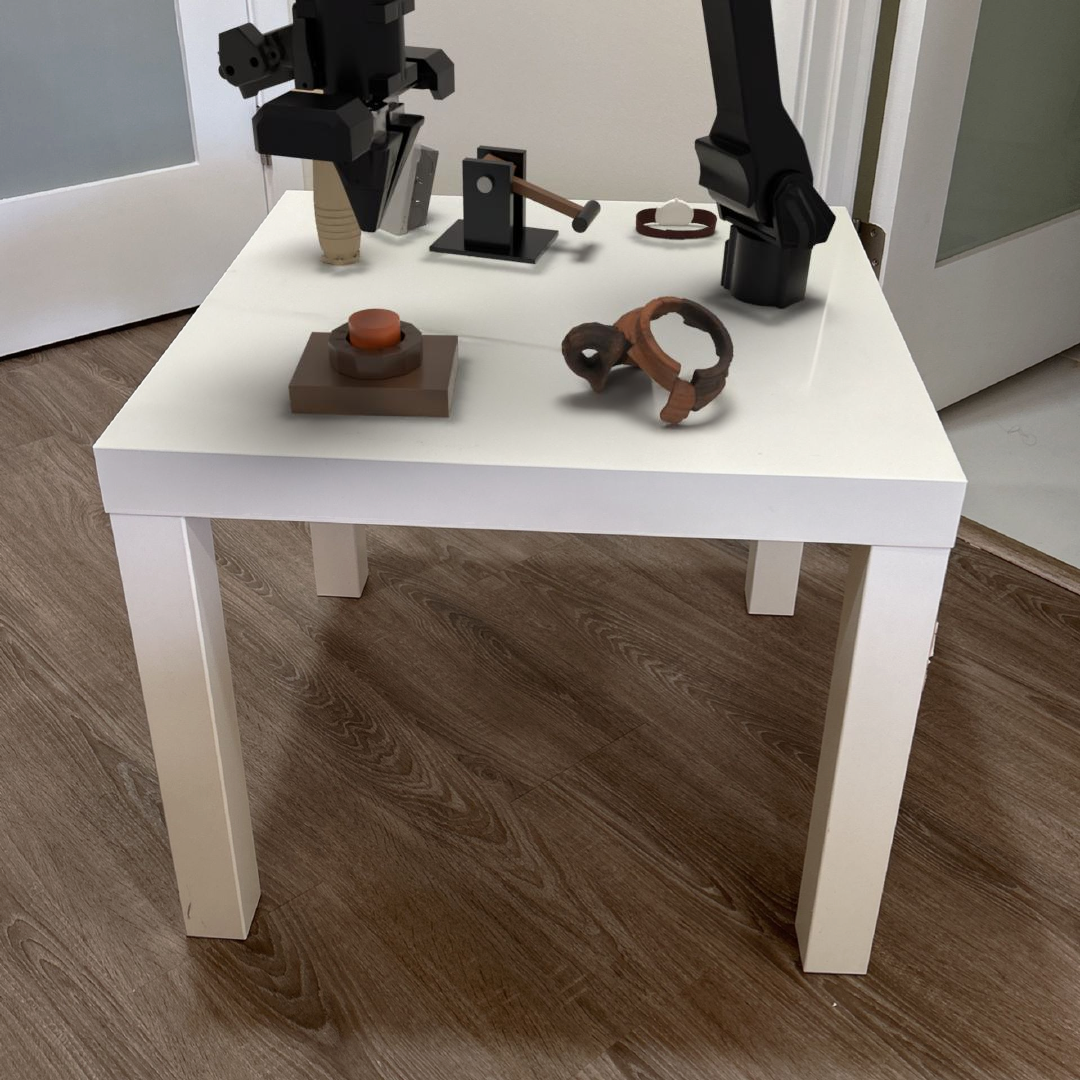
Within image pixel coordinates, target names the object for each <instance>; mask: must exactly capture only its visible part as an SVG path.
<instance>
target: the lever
mask: <svg viewBox="0 0 1080 1080" xmlns="http://www.w3.org/2000/svg"><path fill="white" fill-rule="evenodd" d="M483 159H486V160H496V161H504V160H502V159H499V158H497V157H495V156H493V155H491V154H488V155H486V156H485V157H484V158H483ZM505 162H506V161H505ZM515 169H516V166H515V165H513V192H515V193H517V194H519V195H522V196H524V197H526V199H529V200H531V201H533V202H535V203H537V204H539V205H542V206H544V207H546V208H549V209H551V210H553V211H555V212H558V213H560V214H562V215H564V216H567V217H568V218H571V219H572V221H571V228H572V230H573V231H574V232H575V233H578V234H583V233H585V232H586V231H587V230H588V228H589V227H590V226H591V224H592V223H593V222H594V221H595V219H596V218H597V217H598V215H599V214H600V213H601V210H602V208H601V207H602V206H601V204H600V202H598V201H597V200H596V199H590V200H588V201H587V202H586V203H585V204H584V206H583V205H581V204H578V203H576V202H574V201H572V200H570V199H568V198H565V197H563V196H560V195H559V194H556V193H554V192H551V191H549V190H547V189H545V188H543V187H540V186H538V185H536V184H534V183H531V182H530V181H527V180H526V181H525V180H522V179H520V178H518V177H516V176H514V172H515Z"/></svg>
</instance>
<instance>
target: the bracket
mask: <svg viewBox="0 0 1080 1080" xmlns="http://www.w3.org/2000/svg"><path fill="white" fill-rule="evenodd" d="M527 152H528V151H527V149H523V148H522V149H521V148H513V147H512V148H510V147H502V146H492V145H481V144H480V145H479V146H478V147H477V148H476V157H475V158H474V157H467V156H466V157H464V159H462V160H461V168H462V171H461V172H462V214H463V217H462V218H457V220H455V222H453V223H452V224H451V225H450V226H449V227H448V228H447V229H446V230H445V231H444V232H443V233H442V234H441V235H440V236H439V237H438V238H437V239H435V241H433V243H432V244H431V245H430V246H428V251H429V252H432V253H433V252H434V253H440V254H448V255H457V256H465V257H473V258H479V259H480V258H482V259H489V260H496V261H505V262H513V263H520V264H530V265H536V264H537V262H538V261H539V260H540V259H541V257H543V255H544V254H545V253H546V251H547V250H549V248H550V246H551V245H552V244H553V243H554V242H555V240H556V239H557V238H558V237H559V235H560V231H559V229H557V230H556V229H549V228H540V227H533V226H532V227H531V226H526V225H527V198H526V197H524V196H522V195H519V194H517V193H515V192H513V165H515V166H516V169H515V172H514V176H516V177H518V178H520V179H522V180H525V181H527ZM488 154H491V155H493V156H495V157H497V158H499V159H502V160H504V161H496V160H486V159H483V158H484V157H485V156H486V155H488ZM505 161H506V162H505Z"/></svg>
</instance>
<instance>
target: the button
mask: <svg viewBox="0 0 1080 1080" xmlns="http://www.w3.org/2000/svg"><path fill="white" fill-rule="evenodd" d="M347 320H348V321H347V322H349V334H350V344H351V345H352V346H355V347H359V348H362V349H383V348H388V347H393V346H395V345H397V344H398V343H400V342H401V330H400V320H401V317H400V315H399V313H397V312H395V311H393V310H390V309H385V308H366V309H361V310H357V311H355V312H353V313H351V314H350V315H349V317H348V319H347Z"/></svg>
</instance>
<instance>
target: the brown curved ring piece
mask: <svg viewBox="0 0 1080 1080" xmlns="http://www.w3.org/2000/svg"><path fill="white" fill-rule="evenodd" d="M670 313H671V314H677V315H679V316H681V317H682V319H683V321H682V324H683V325H685V326H687V327H689V328H693V329H697V330H700V331H702V332H704V333H708V335H709V336H710V338H711V340H712V342H713V344H714V347H715V355H716V357H718V361H717V362H716V364H714V365H713V366H710V367H706V368H696V369H694V370H693V372H692V375H691V380H690V381H689V380H687V379H682V378H681V377H679V376H680V374H681V370H682V364H681V363H680V362H679V361H678V360H675V359H674V358H672V357H671V356H670V355H669V354H667V353H666V352H665V351H664V350H663V349H662V347H661V346H660V345H659V343H658V342H657V340H656V338H655V336H654V334H653V332H652V330H651V322H652V321H657V320H659V319H660V318H662V317H663V316H667V315H668V314H670ZM586 350H593V351H595V353H594V354H592V356H587V355H586V354H585V353H584V351H586ZM561 354H562V357H563V359H564V361H565V364H566V366H567V367H568V369H569V370H571V372H573V374H575V375H576V376H577V377H580V378H581V379H584V380H586V381H587V382H588V383H589V386H590V387H591V389H592V390H593V391H594V392H595V393H597V394H603V393H604V392H605V389H606V388H605V387H606V382H607V380H608V377H609V374H610V372H611V370H612V368H615V367H616V366H621V365H623V366H631V367H638V368H640V369H641V371H642V372H644V373H646V374H647V375H648V376H649V377H650V378H651V379H652V380H653V381H654V382H655V383H656V384H657V385H659V386H660V387H661V388H662V389H664V390H665V391H667V392H669V395H668V399H667V402H666V404H665V405H664V406H663V407H662V408H661V410H660V412H659V418H660V420H661V422H665V423H668V424H671V425H679V424H681V422H683V420H685V419H687V418H688V416H689V414H690V412H693V413H695V412H698V411H701V409H703V408H705V407H706V406H708V405H709V404H711V402H713V401H714V400H715V399H717V397H719V395H720V394H721V393H722V391H723V390H724V389H725V387H726V385H727V378H728V377H729V369H730V367H731V363H732V362H733V359H734V344H733V340H732V337H731V334H730V332H729V330H728V329H727V327H726V326H725V325H724V323H723V322H722V321H721V320H720V318H719V317H718V316H717V315H716V314H715V313H713V312H712V311H711V310H710V309H709V308H707V307H705V306H703V305H701V304H700V303H699V302H696V301H694V300H691V299H687V298H686V297H682V298H681V297H678V296H672V295H670V296H669V295H668V296H667V295H666V296H659V297H657V298H654V299H651V300H650V301H649V302H647V303H646V304H645V305H644V306H639V307H637V308H634V309H632V310H630V311H628V312H625V314H622V315H621V316H620V317H619V319H617V320H616V321H614V323H613V324H612V325H611V324H610V325H609V324H604V323H601V322H598V321H591V322H583V323H581V324H578V325H576V326H573V327H572V328H571V329H570V330H569V331H568V332H567V334H566V335H565V336H564V337H563V340H562V341H561Z"/></svg>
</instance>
